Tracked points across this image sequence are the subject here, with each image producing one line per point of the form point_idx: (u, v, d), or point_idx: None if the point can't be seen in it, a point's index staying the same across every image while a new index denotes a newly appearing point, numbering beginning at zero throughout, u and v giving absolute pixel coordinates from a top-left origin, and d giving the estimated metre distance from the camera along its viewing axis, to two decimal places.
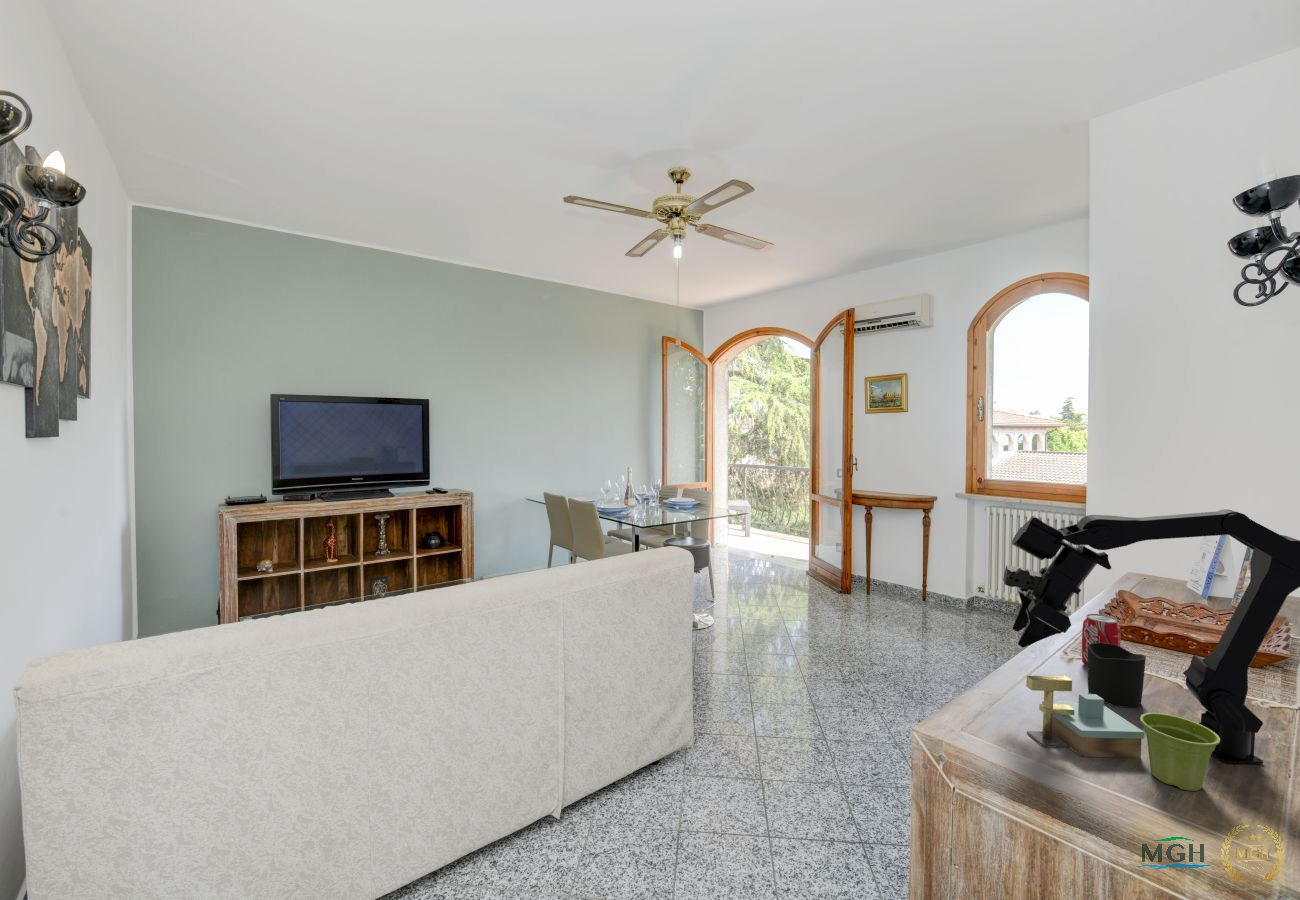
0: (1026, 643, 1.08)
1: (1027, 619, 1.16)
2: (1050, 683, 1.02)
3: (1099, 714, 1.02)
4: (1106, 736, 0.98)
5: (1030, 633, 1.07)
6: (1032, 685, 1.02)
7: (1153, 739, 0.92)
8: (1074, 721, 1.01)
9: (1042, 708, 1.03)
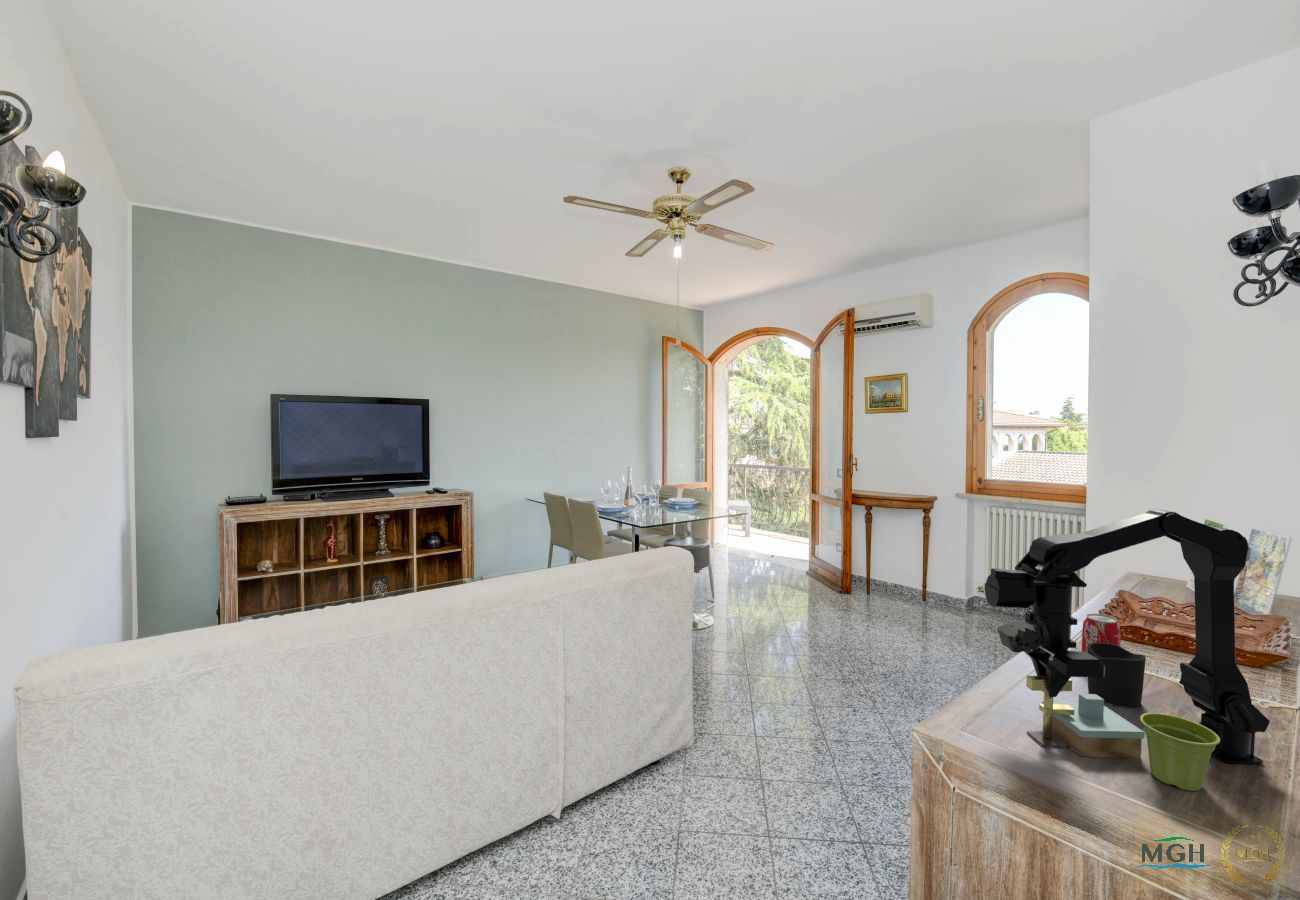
0: (1056, 691, 1.02)
1: None
2: None
3: (1099, 714, 1.02)
4: (1106, 736, 0.98)
5: (1056, 681, 1.01)
6: (1032, 685, 1.02)
7: (1153, 739, 0.92)
8: (1074, 721, 1.01)
9: (1042, 708, 1.03)
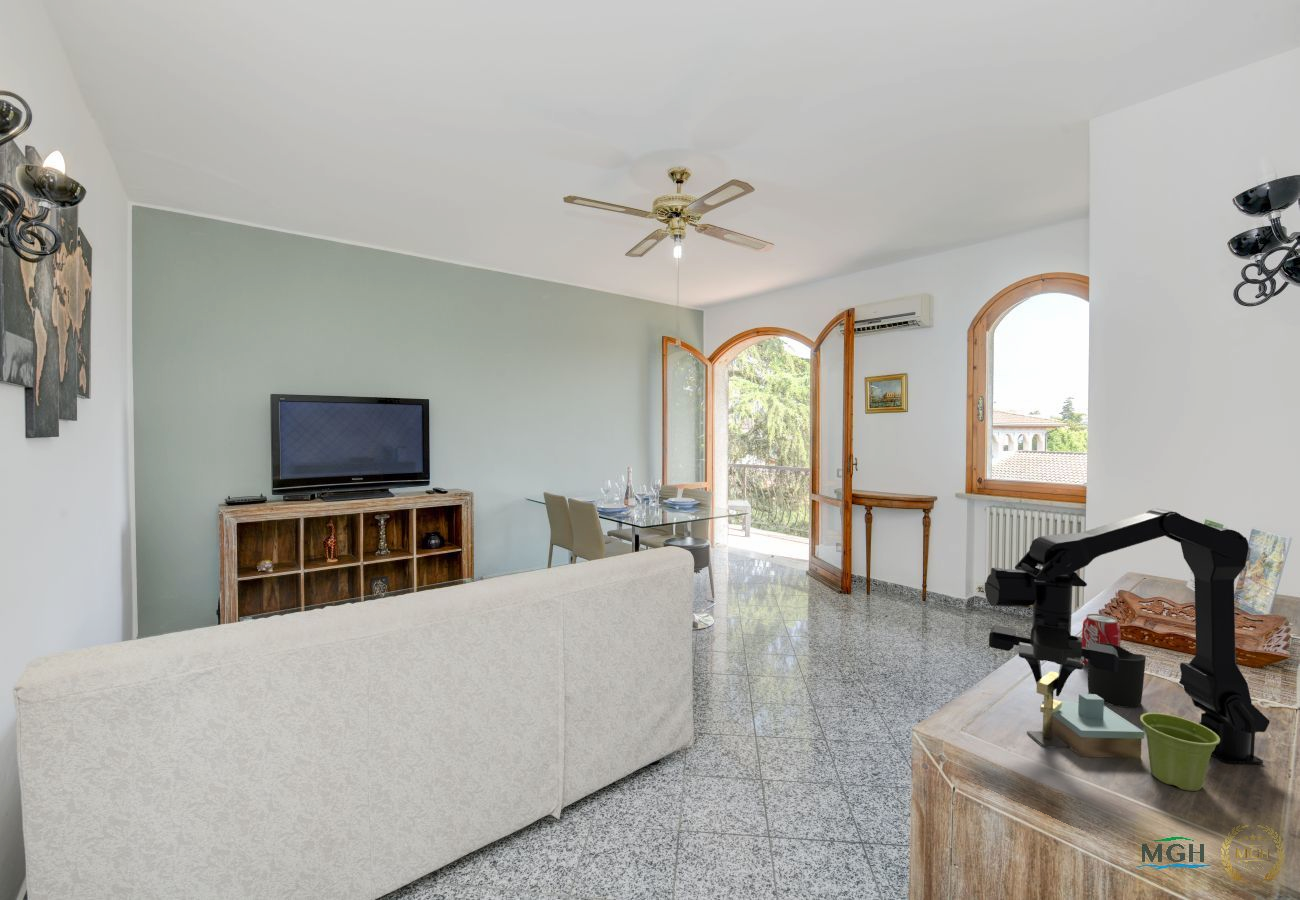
0: None
1: None
2: (1053, 683, 1.02)
3: (1099, 714, 1.02)
4: (1106, 736, 0.98)
5: None
6: (1047, 690, 1.00)
7: (1153, 739, 0.92)
8: (1074, 721, 1.01)
9: (1046, 710, 1.03)
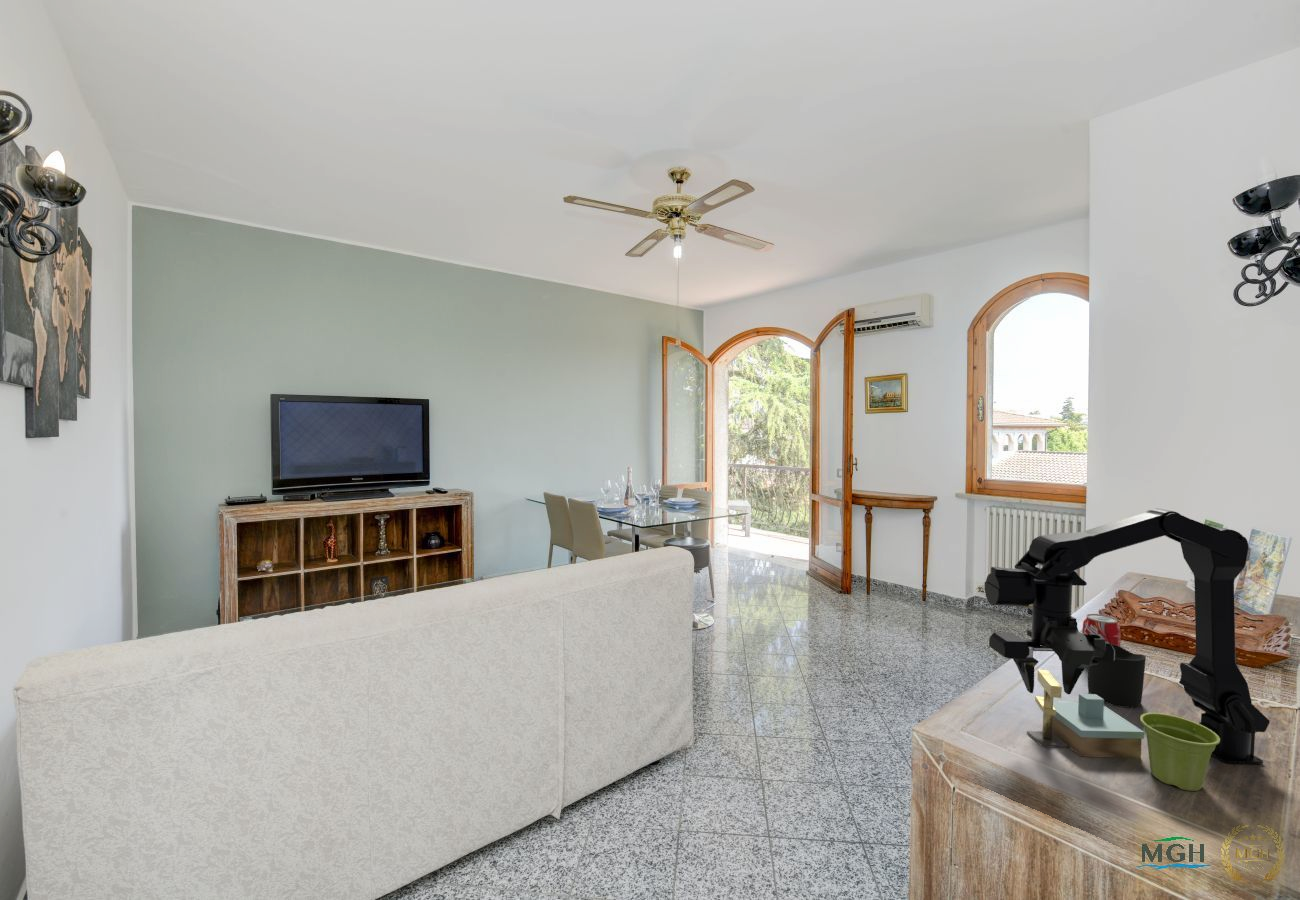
0: None
1: None
2: None
3: (1099, 714, 1.02)
4: (1106, 736, 0.98)
5: None
6: None
7: (1153, 739, 0.92)
8: (1074, 721, 1.01)
9: (1050, 711, 1.02)
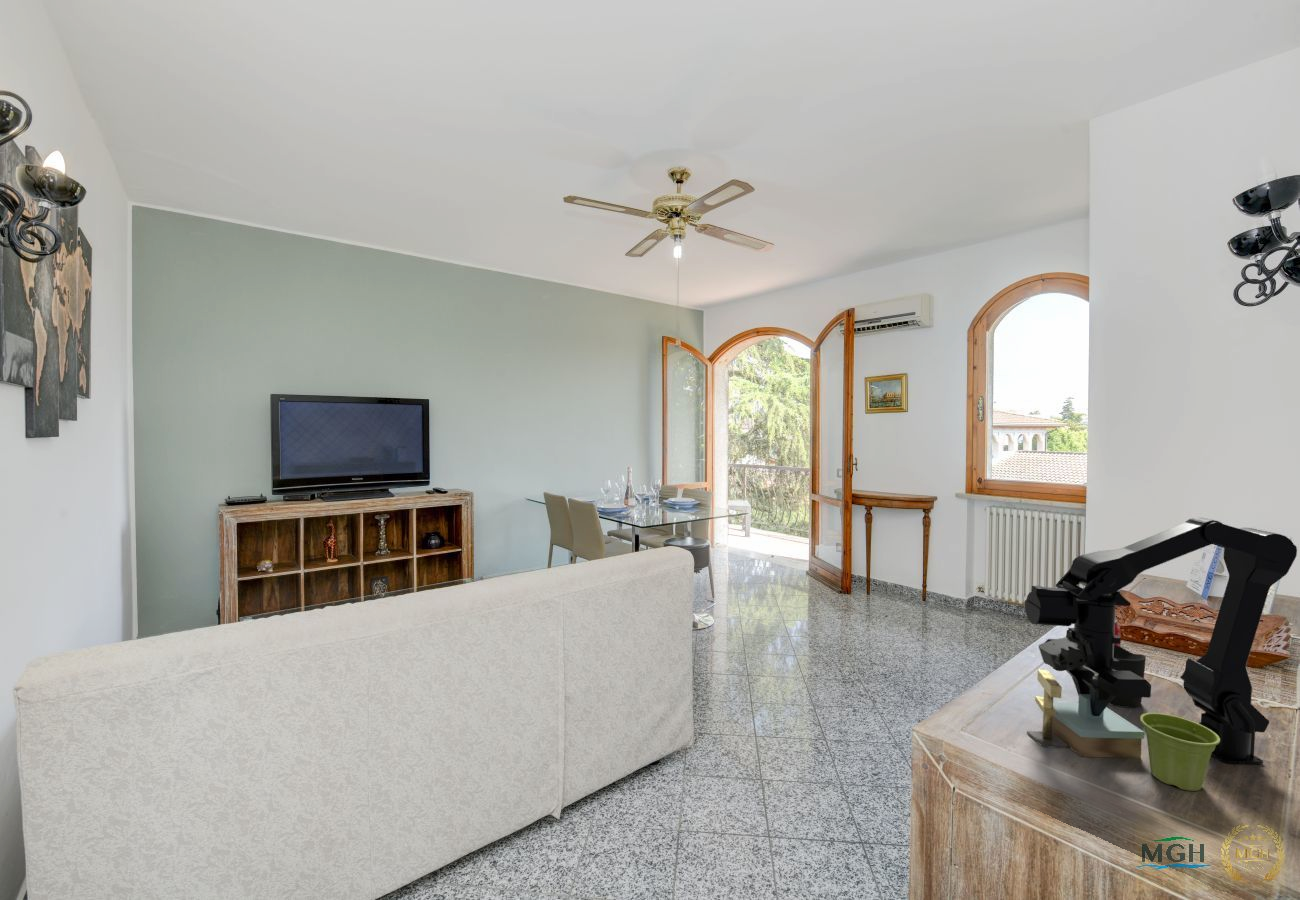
0: (1100, 710, 1.01)
1: (1090, 691, 1.04)
2: None
3: None
4: (1106, 736, 0.98)
5: (1099, 700, 1.01)
6: None
7: (1153, 739, 0.92)
8: (1074, 721, 1.01)
9: (1050, 711, 1.02)
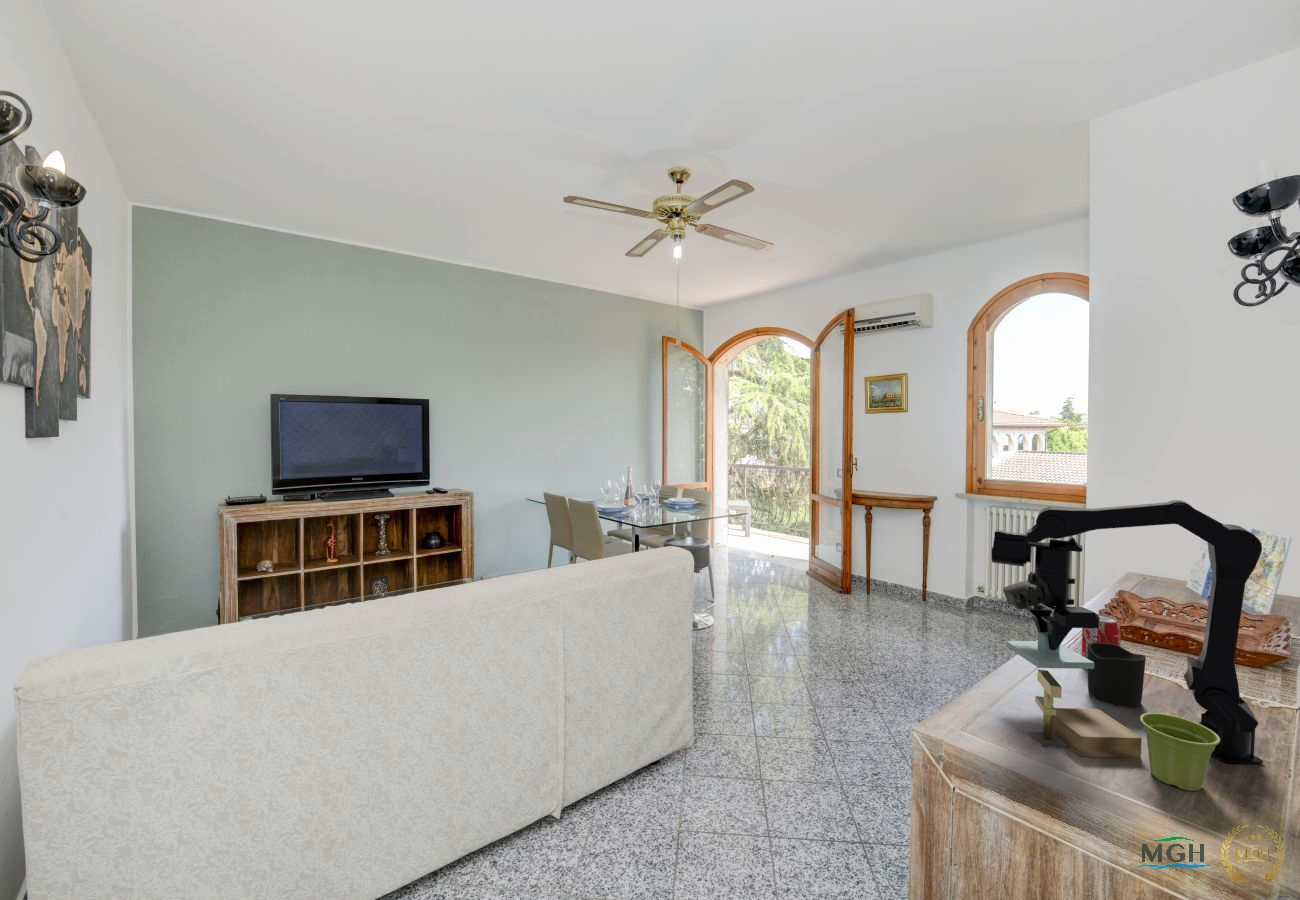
0: (1057, 645, 1.13)
1: None
2: None
3: None
4: (1060, 667, 1.09)
5: (1056, 635, 1.12)
6: None
7: (1153, 739, 0.92)
8: (1033, 655, 1.12)
9: (1050, 711, 1.02)
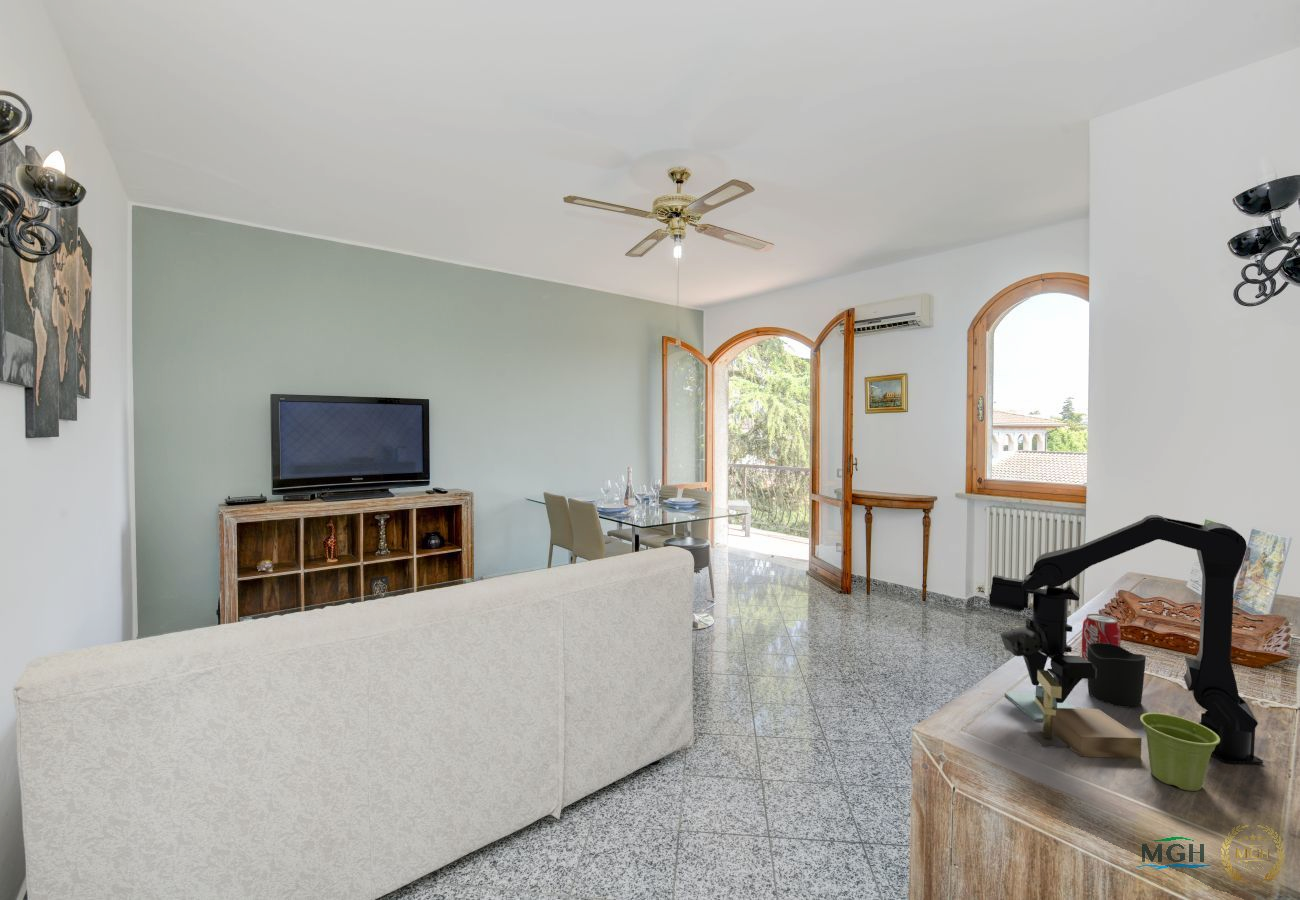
0: (1063, 698, 1.11)
1: (1038, 669, 1.19)
2: None
3: (1053, 704, 1.14)
4: None
5: (1062, 688, 1.10)
6: None
7: (1153, 739, 0.92)
8: (1030, 710, 1.13)
9: (1050, 711, 1.02)
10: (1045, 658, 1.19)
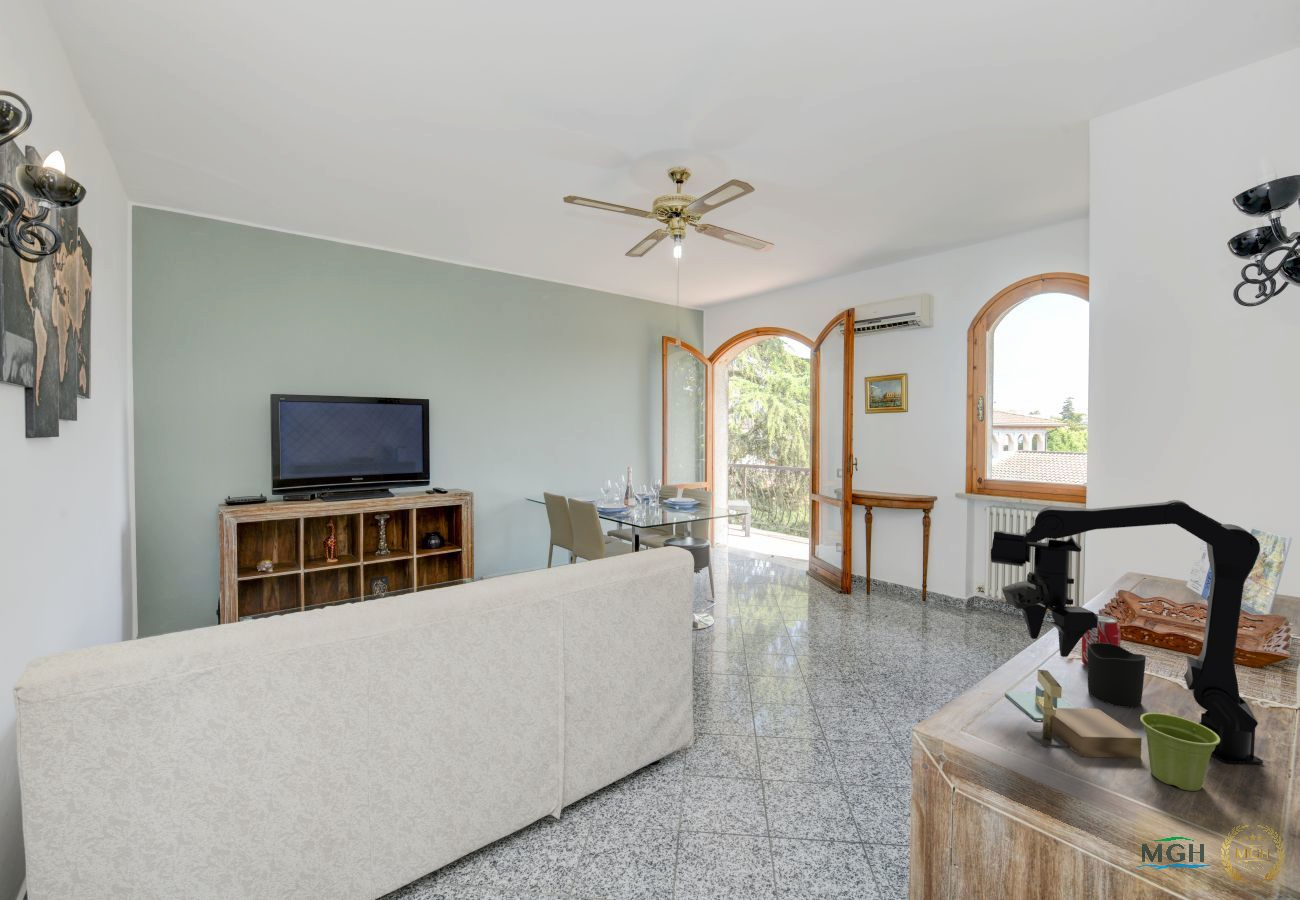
0: (1068, 651, 1.10)
1: (1037, 623, 1.19)
2: None
3: (1053, 704, 1.14)
4: None
5: (1067, 641, 1.09)
6: None
7: (1153, 739, 0.92)
8: (1030, 710, 1.13)
9: (1050, 711, 1.02)
10: (1043, 611, 1.19)
